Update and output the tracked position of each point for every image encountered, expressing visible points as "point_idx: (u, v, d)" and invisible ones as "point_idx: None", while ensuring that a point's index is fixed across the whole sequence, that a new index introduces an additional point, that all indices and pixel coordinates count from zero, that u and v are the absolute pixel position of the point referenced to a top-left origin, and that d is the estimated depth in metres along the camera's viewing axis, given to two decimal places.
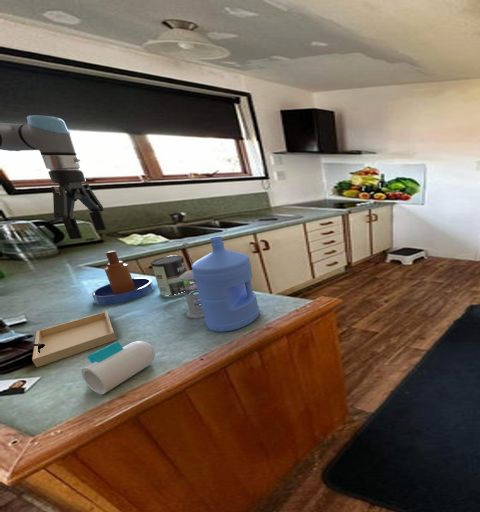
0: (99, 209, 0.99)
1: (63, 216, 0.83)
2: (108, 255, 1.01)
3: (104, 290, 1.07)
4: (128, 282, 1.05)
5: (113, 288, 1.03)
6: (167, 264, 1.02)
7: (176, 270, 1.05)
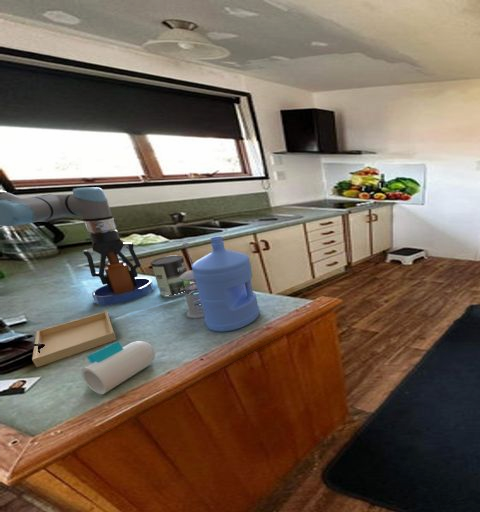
0: (132, 268, 1.07)
1: (92, 275, 0.99)
2: (108, 255, 1.01)
3: (104, 290, 1.07)
4: (128, 282, 1.05)
5: (113, 288, 1.03)
6: (167, 264, 1.02)
7: (176, 270, 1.05)
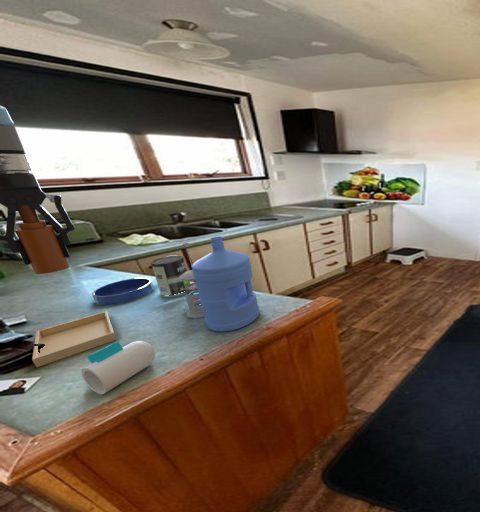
0: (61, 231, 0.75)
1: None
2: (20, 210, 0.69)
3: (104, 290, 1.07)
4: (54, 252, 0.73)
5: (30, 259, 0.71)
6: (167, 264, 1.02)
7: (176, 270, 1.05)
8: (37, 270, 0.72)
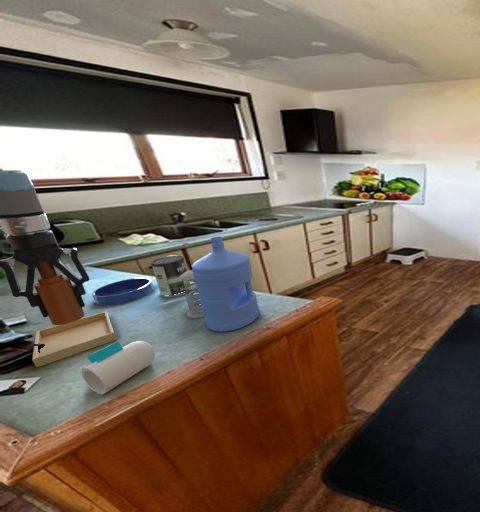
0: (77, 283, 0.78)
1: (13, 295, 0.70)
2: (39, 266, 0.72)
3: (104, 290, 1.07)
4: (70, 303, 0.76)
5: (48, 312, 0.74)
6: (167, 264, 1.02)
7: (176, 270, 1.05)
8: (54, 322, 0.75)
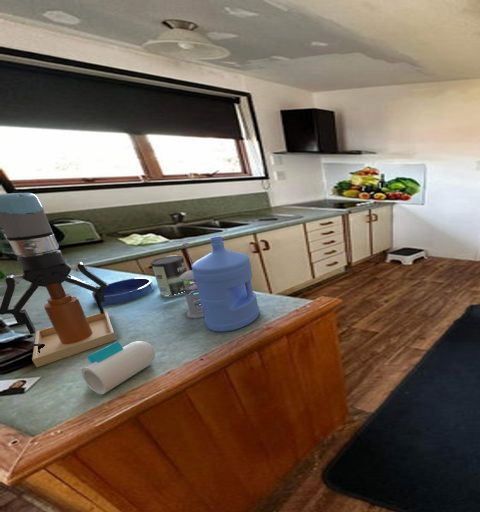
0: (97, 291, 0.81)
1: None
2: (48, 288, 0.74)
3: (104, 290, 1.07)
4: (79, 323, 0.79)
5: (57, 331, 0.76)
6: (167, 264, 1.02)
7: (176, 270, 1.05)
8: (63, 341, 0.77)
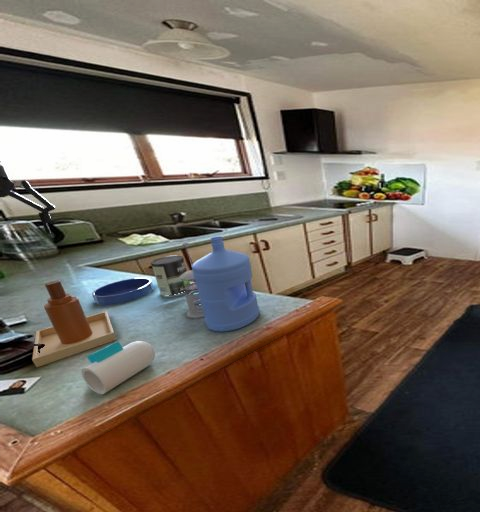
0: (42, 210, 0.84)
1: None
2: (48, 288, 0.74)
3: (104, 290, 1.07)
4: (79, 323, 0.79)
5: (57, 331, 0.76)
6: (167, 264, 1.02)
7: (176, 270, 1.05)
8: (63, 341, 0.77)
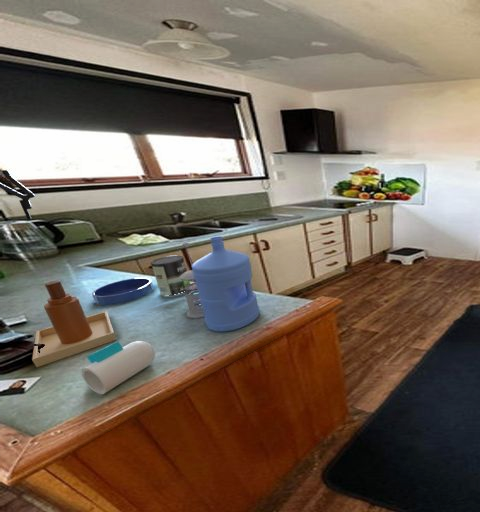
0: (23, 197, 0.93)
1: None
2: (48, 288, 0.74)
3: (104, 290, 1.07)
4: (79, 323, 0.79)
5: (57, 331, 0.76)
6: (167, 264, 1.02)
7: (176, 270, 1.05)
8: (63, 341, 0.77)
